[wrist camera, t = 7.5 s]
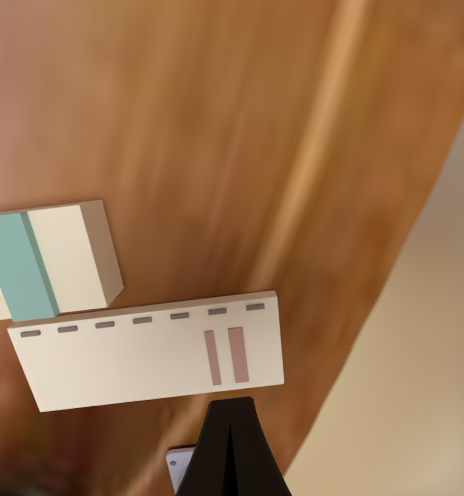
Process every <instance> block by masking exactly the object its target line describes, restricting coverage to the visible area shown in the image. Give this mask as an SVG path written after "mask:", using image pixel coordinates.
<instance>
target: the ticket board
mask: <svg viewBox="0 0 464 496" xmlns="http://www.w3.org/2000/svg"><path fill="white" fill-rule="evenodd" d="M7 330H8V333H9V335H10V338H11V340H12V343H13V345H14V348H15V350H16V353H17V355H18V358H19V360H20V363H21V365H22V368H23V370H24V373H25V375H26V377H27V380H28V382H29V385H30V387H31V390H32V392H33V395H34V397H35V400H36V402H37V405H38V407H39V410H40V412H44V411H52V410H61V409H70V408H78V407H87V406H96V405H105V404H113V403H122V402H131V401H139V400H148V399H157V398H165V397H174V396H183V395H191V394H200V393H209V392H218V391H226V390H235V389H244V388H252V387H261V386H270V385H278V384H284V374H283V362H282V350H281V337H280V325H279V312H278V300H277V295H276V292H275V290H272V291H264V292H255V293H247V294H239V295H230V296H222V297H213V298H205V299H197V300H188V301H180V302H172V303H163V304H155V305H146V306H138V307H130V308H121V309H113V310H105V311H96V312H88V313H80V314H71V315H63V316H56V317H52V318H43V319H35V320H26V321H17V322H16V323H14V324H13V325H12V326H10V327H9V328H8V329H7Z"/></svg>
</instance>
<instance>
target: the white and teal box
mask: <svg viewBox="0 0 464 496" xmlns="http://www.w3.org/2000/svg"><path fill="white" fill-rule="evenodd" d="M123 289H124V286H123V282H122V278H121V274H120V270H119V266H118V262H117V258H116V254H115V250H114V246H113V242H112V238H111V234H110V230H109V226H108V222H107V218H106V214H105V210H104V206H103V202H102V200H95V201H86V202H78V203H70V204H62V205H54V206H45V207H37V208H29V209H21V210H13V211H4V212H0V320H2V319H10V318H12V319H13V322H17V321H26V320H35V319H43V318H52V317H56V316H57V315H58V314H59V313H62V312H71V311H79V310H88V309H96V308H105V307H108V306H109V305H110V303H111V302H112V301H113V300H114V299H115V298H116V297H117V295H118V294H119V293H120V292H121V291H122V290H123Z"/></svg>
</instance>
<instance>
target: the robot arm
mask: <svg viewBox="0 0 464 496" xmlns="http://www.w3.org/2000/svg"><path fill="white" fill-rule="evenodd" d="M166 461H167V464H168V468H169V472H170V476H171V480H172V484H173V488H174V492H175V496H292V495H291V493H290V491H289V489H288V487H287V485H286V483H285V481H284V479H283V477H282V475H281V473H280V471H279V468H278V466H277V464H276V462H275V459H274V457H273V455H272V453H271V451H270V448H269V446H268V444H267V441H266V439H265V436H264V433H263V431H262V428H261V425H260V423H259V420H258V416H257V413H256V409H255V405H254V400H253V398H251V397H250V396H249V397H241V398H232V399H224V400H215V401H211V402H210V404H209V406H208V410H207V413H206V417H205V420H204V423H203V426H202V429H201V432H200V435H199V438H198V441H197V444H196V446H195V447H191V448H182V449H173V450H169V451H168V452H167V455H166Z"/></svg>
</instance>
